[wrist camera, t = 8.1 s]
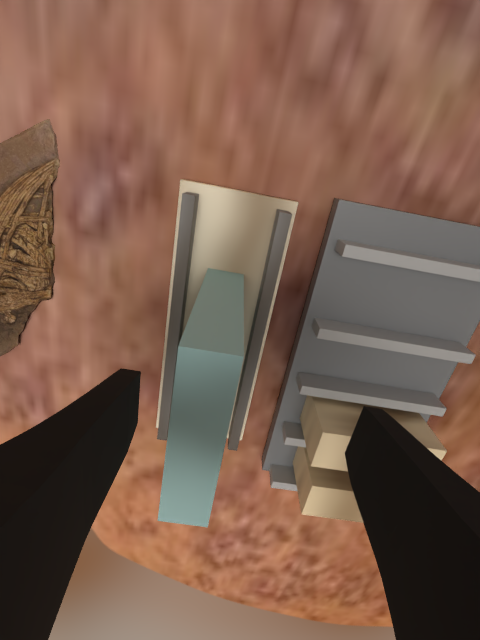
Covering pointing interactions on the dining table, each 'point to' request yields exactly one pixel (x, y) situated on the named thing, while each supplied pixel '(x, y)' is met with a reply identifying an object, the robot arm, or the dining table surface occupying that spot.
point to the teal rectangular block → (203, 399)
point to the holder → (233, 256)
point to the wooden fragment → (26, 227)
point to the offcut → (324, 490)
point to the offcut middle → (351, 430)
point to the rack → (379, 320)
